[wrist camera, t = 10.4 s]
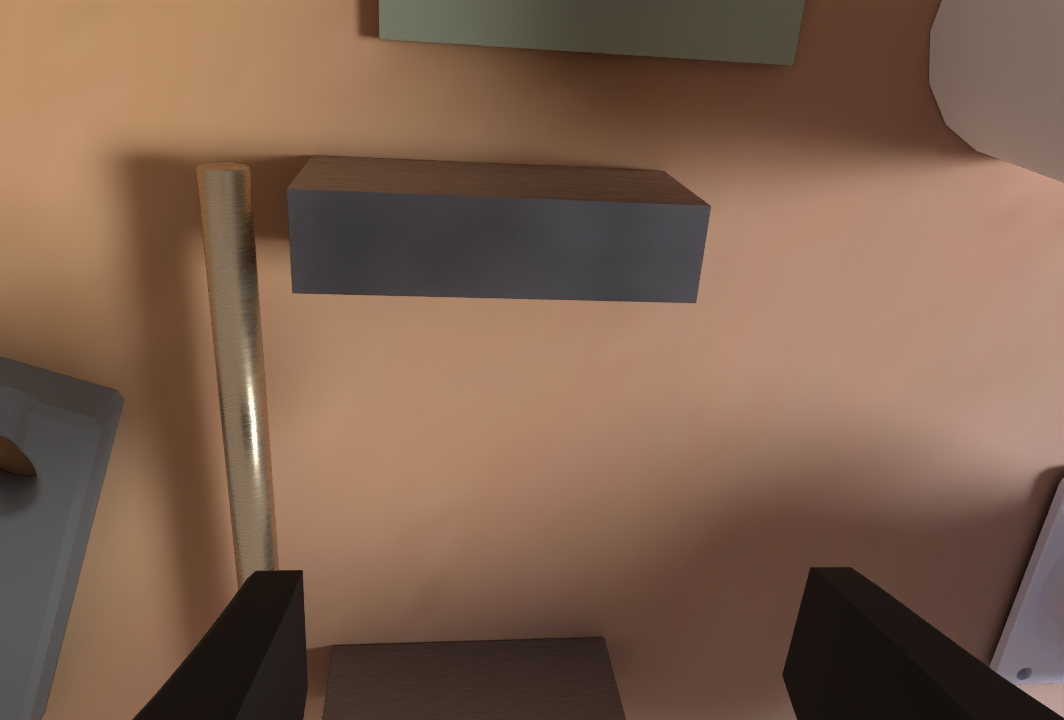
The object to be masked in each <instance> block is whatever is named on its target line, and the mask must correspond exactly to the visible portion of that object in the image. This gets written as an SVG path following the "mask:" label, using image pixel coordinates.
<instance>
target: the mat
mask: <svg viewBox="0 0 1064 720" xmlns="http://www.w3.org/2000/svg"><path fill="white" fill-rule="evenodd" d="M805 1H806V0H379V39H388V40H403V41H419V42H434V43H450V44H465V45H481V46H496V47H512V48H527V49H543V50H558V51H574V52H589V53H605V54H620V55H636V56H651V57H667V58H683V59H698V60H714V61H729V62H745V63H760V64H776V65H791V66H794V61H795V55H796V50H797V44H798V39H799V33H800V28H801V22H802V17H803V11H804V6H805Z"/></svg>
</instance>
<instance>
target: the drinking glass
mask: <svg viewBox="0 0 1064 720" xmlns="http://www.w3.org/2000/svg"><path fill="white" fill-rule="evenodd" d="M929 84H930V86H931V89H932V91H933V94H934V96H935V99H936V102H937V104H938V107H939V109H940V112H941V114H942V117H943V119H944V122H945V124H946V125H947V126H948V127H949V128H950V129H951V130H952V131H954V132H955V133H956V134H957V135H958V136H959V137H961V138H962V139H963V140H964V141H965V142H966V143H967V144H969V145H970V146H971V147H972V148H973V149H974V150H976V151H977V152H981V153H984V154H986V155H989V156H992V157H995V158H997V159H1000V160H1003V161H1006V162H1009V163H1011V164H1014V165H1017V166H1020V167H1022V168H1025V169H1028V170H1031V171H1033V172H1036V173H1039V174H1042V175H1044V176H1047V177H1050V178H1053V179H1055V180H1058V181H1061V182H1064V0H942V1H941V4H940V7H939V9H938V12H937V15H936V17H935V20H934V23H933V25H932V28H931V31H930V67H929Z"/></svg>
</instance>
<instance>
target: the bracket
mask: <svg viewBox="0 0 1064 720" xmlns="http://www.w3.org/2000/svg"><path fill="white" fill-rule="evenodd" d="M123 401H124V399H123V398H122V396H121V395H120V394H119V392H118V391H117V390H114V389H111V388H107V387H104V386H100V385H97V384H93V383H90V382H86V381H83V380H80V379H76V378H73V377H69V376H66V375H62V374H59V373H55V372H52V371H48V370H45V369H40V368H36V367H33V366H30V365H27V364H24V363H20V362H17V361H13V360H10V359H6V358H3V357H0V436H2V437H5V438H7V439H9V440H10V441H12V442H13V443H14V444H15V445H16V446H17V447H18V448H19V449H20V450H21V452H22V453H23V454H24V455H25V456H26V457H27V458H28V459H29V460H30V462H31V463H32V465H33V467H34V469H35V471H36V475H29V476H21V475H15V474H11V473H7V472H5V471H3V470H1V469H0V720H41V719H42V717H43V715H44V713H45V710H46V706H47V702H48V698H49V694H50V690H51V686H52V682H53V678H54V674H55V670H56V666H57V662H58V658H59V654H60V650H61V646H62V642H63V638H64V635H65V631H66V627H67V623H68V619H69V615H70V611H71V607H72V603H73V599H74V595H75V591H76V587H77V583H78V579H79V575H80V571H81V567H82V563H83V559H84V556H85V552H86V548H87V544H88V540H89V536H90V532H91V528H92V524H93V520H94V516H95V512H96V508H97V504H98V500H99V496H100V492H101V488H102V484H103V480H104V477H105V473H106V469H107V465H108V461H109V457H110V453H111V449H112V445H113V441H114V437H115V433H116V429H117V425H118V421H119V417H120V413H121V409H122V405H123Z"/></svg>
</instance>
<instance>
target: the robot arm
mask: <svg viewBox="0 0 1064 720" xmlns="http://www.w3.org/2000/svg"><path fill="white" fill-rule="evenodd" d="M782 675H783V678H784V682H785V685H786V688H787V691H788V694H789V697H790V700H791V703H792V706H793V709H794V712H795V715H796V717H797V720H1064V718H1063V717H1061V716H1060V715H1058V714H1057V713H1055V712H1054V711H1052V710H1051V709H1049V708H1048V707H1046V706H1045V705H1043V704H1042V703H1040V702H1039V701H1037V700H1036V699H1034V698H1033V697H1031V696H1030V695H1028V694H1027V693H1025V692H1024V691H1022V690H1021V689H1019V688H1018V687H1016V686H1015V684H1040V683H1064V478H1062V480H1061V482H1060V483H1059V486H1058V488H1057V491H1056V494H1055V496H1054V499H1053V501H1052V504H1051V507H1050V509H1049V512H1048V515H1047V517H1046V520H1045V522H1044V525H1043V528H1042V530H1041V533H1040V536H1039V538H1038V541H1037V543H1036V546H1035V549H1034V551H1033V554H1032V557H1031V559H1030V562H1029V564H1028V567H1027V570H1026V572H1025V575H1024V578H1023V580H1022V583H1021V585H1020V588H1019V591H1018V593H1017V596H1016V599H1015V601H1014V604H1013V606H1012V609H1011V612H1010V614H1009V617H1008V620H1007V622H1006V625H1005V627H1004V630H1003V633H1002V635H1001V638H1000V641H999V643H998V646H997V648H996V651H995V654H994V656H993V659H992V662H991V664H990V667H988V666H986V665H985V664H984V663H982V662H981V661H979V660H978V659H977V658H975V657H974V656H972V655H971V654H970V653H968V652H967V651H966V650H964V649H963V648H961V647H960V646H959V645H957V644H956V643H955V642H953V641H952V640H950V639H949V638H948V637H946V636H945V635H944V634H942V633H941V632H940V631H938V630H937V629H936V628H934V627H933V626H932V625H930V624H929V623H927V622H926V621H925V620H923V619H922V618H921V617H919V616H918V615H917V614H915V613H914V612H913V611H911V610H910V609H909V608H907V607H906V606H905V605H903V604H902V603H900V602H899V601H898V600H896V599H895V598H894V597H892V596H891V595H890V594H888V593H887V592H885V591H884V590H883V589H881V588H880V587H878V586H877V585H876V584H874V583H873V582H871V581H870V580H868V579H867V578H866V577H864V576H863V575H861V574H860V573H858V572H857V571H855V570H853V569H852V568H850V567H813V568H810V571H809V575H808V579H807V583H806V587H805V590H804V594H803V598H802V602H801V606H800V609H799V613H798V617H797V621H796V625H795V629H794V632H793V636H792V640H791V644H790V648H789V651H788V655H787V659H786V663H785V667H784V671H783V674H782ZM307 687H308V683H307V660H306V637H305V613H304V590H303V570H279V571H255V572H254V573H253V574H251V575H250V576H249V577H248V578H247V579H246V581H245V582H244V584H243V585H242V586H241V588H240V589H239V591H238V592H237V593H236V595H235V596H234V598H233V599H232V600H231V602H230V603H229V604H228V606H227V607H226V608H225V610H224V611H223V612H222V614H221V615H220V616H219V618H218V619H217V620H216V622H215V623H214V624H213V625H212V627H211V628H210V629H209V631H208V632H207V633H206V634H205V636H204V637H203V638H202V639H201V641H200V642H199V643H198V645H197V646H196V647H195V648H194V649H193V651H192V652H191V653H190V654H189V655H188V657H187V658H186V659H185V660H184V661H183V663H182V664H181V665H180V666H179V667H178V669H177V670H176V671H175V672H174V673H173V674H172V676H171V677H170V678H169V679H168V680H167V682H166V683H165V684H164V685H163V686H162V688H161V689H160V690H159V691H158V692H157V693H156V694H155V696H154V697H153V698H152V699H151V700H150V701H149V702H148V703H147V704H146V705H145V706H144V708H143V709H142V710H141V711H140V712H139V713H138V714H137V715H136V716H135V717H134V718H133V719H132V720H303V717H304V709H305V702H306V695H307Z"/></svg>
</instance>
